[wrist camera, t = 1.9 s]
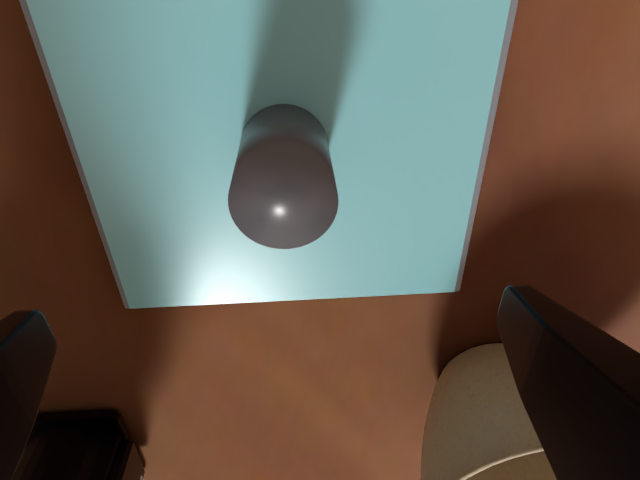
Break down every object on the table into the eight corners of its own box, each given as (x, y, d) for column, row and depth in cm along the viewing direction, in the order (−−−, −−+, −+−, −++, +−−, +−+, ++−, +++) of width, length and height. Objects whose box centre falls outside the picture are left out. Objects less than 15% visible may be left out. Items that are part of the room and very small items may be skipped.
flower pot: (427, 295, 21) (481, 434, 15) (614, 318, 23) (728, 453, 17) (371, 423, 27) (395, 563, 21) (525, 435, 28) (589, 568, 22)
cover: (133, 299, 20) (96, 386, 16) (3, -102, 12) (-130, -120, 8) (450, 283, 20) (487, 363, 17) (522, -110, 13) (625, -130, 9)
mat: (127, 302, 20) (125, 308, 20) (-16, -124, 12) (-25, -126, 12) (456, 285, 21) (459, 291, 21) (538, -132, 13) (545, -134, 12)
